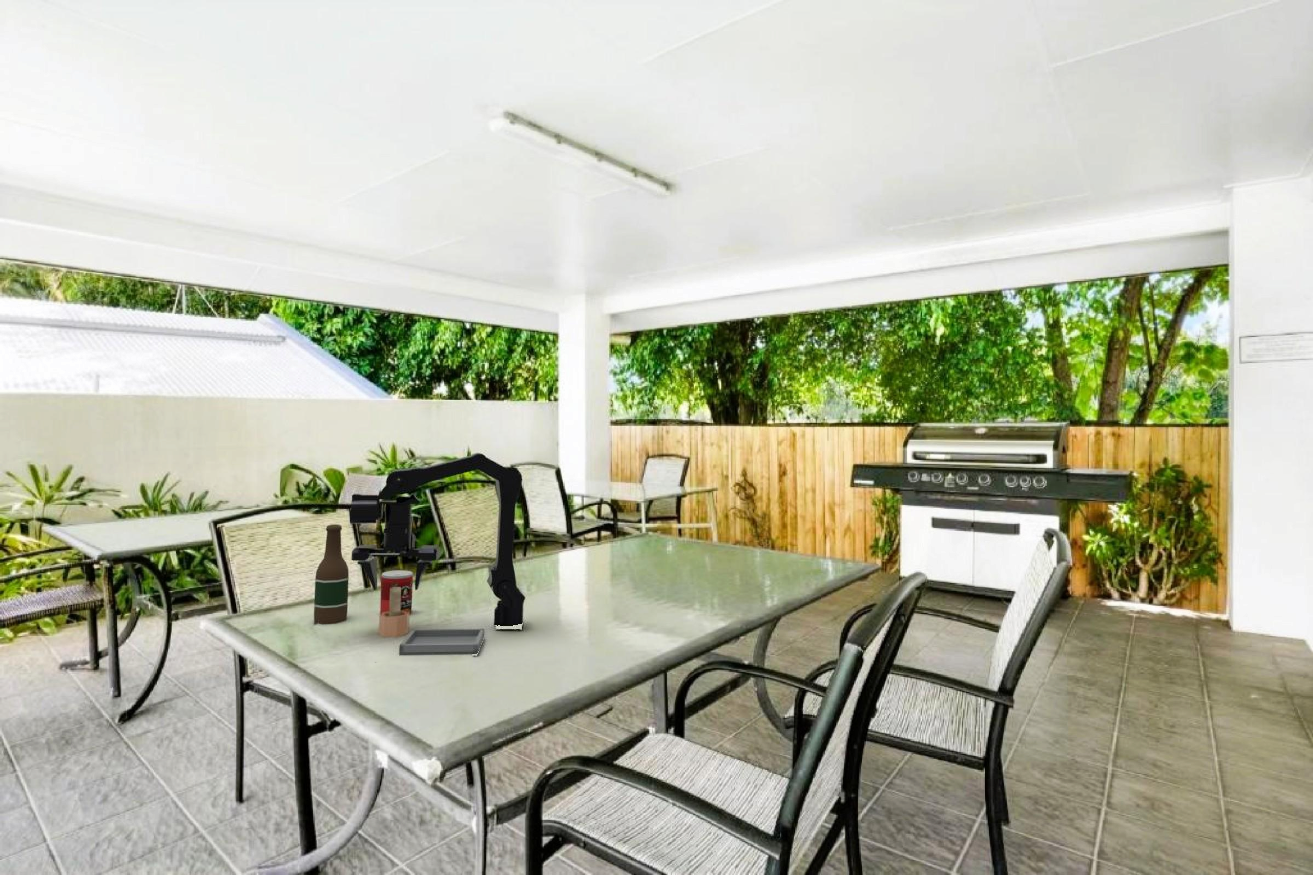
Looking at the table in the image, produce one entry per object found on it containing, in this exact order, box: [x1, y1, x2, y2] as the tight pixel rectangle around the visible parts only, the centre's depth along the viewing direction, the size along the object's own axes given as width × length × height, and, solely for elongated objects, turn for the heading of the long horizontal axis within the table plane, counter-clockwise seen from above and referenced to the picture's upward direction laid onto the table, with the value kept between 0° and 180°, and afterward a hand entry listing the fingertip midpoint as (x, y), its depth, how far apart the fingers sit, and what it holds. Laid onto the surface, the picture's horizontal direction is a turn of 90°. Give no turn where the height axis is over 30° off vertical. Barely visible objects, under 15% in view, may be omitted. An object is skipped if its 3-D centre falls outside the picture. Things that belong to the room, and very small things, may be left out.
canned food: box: [379, 569, 414, 616], centre depth 169 cm, size 8×8×11 cm
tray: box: [398, 628, 485, 656], centre depth 144 cm, size 16×12×2 cm
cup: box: [378, 611, 410, 638], centre depth 152 cm, size 6×6×5 cm
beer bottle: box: [313, 524, 350, 626], centre depth 161 cm, size 8×8×24 cm
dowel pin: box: [389, 587, 401, 616], centre depth 152 cm, size 2×2×10 cm
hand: (396, 589), depth 152 cm, fingers open, 9 cm apart
